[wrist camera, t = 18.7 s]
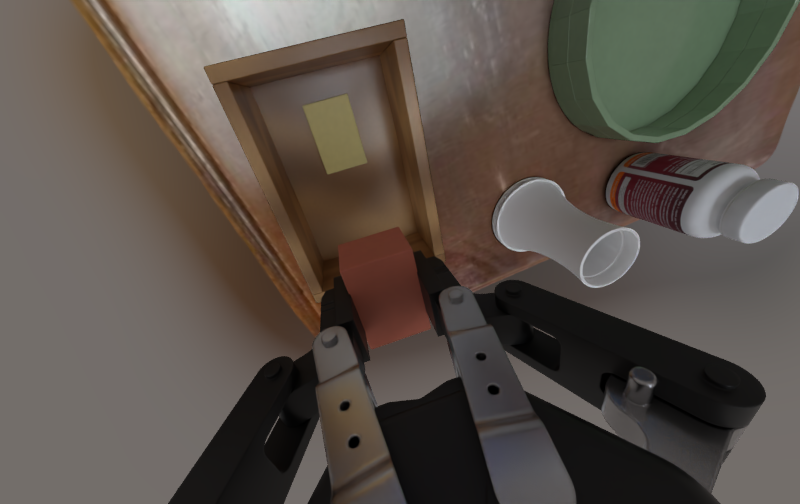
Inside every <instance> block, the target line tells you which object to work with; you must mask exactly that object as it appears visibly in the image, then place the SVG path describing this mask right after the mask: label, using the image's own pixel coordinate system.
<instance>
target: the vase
mask: <svg viewBox="0 0 800 504" xmlns="http://www.w3.org/2000/svg"><path fill="white" fill-rule="evenodd" d="M492 226H493V231H494V234H495V236H496V238H497V239H498V240H499V241H500V242H501V243H502V244H503V245H504V246H506V247H507V248H509V249H511V250H514V251H533V252H537V253H540V254H542V255H545V256H547V257H549V258H551V259H553V260H555V261H557V262H558V263H560V264H561V265H563V266H564V267H566V268H567V269H568V270H570V271H571V272H572V273H573V274H574V275H576V276H577V277H578V278H579V279H580V280H581V281H582V282H583V283H584V284H585V285H587V286H589V287H593V288H599V287H603V286H607V285H609V284H611V283H613V282H615V281H616V280H618V279H619V278H620V277H622V276H623V275H624V274H625V273H626V272H627V271H628V270H629V268H630V267H631V266H632V264H633V263H634V261H635V260H636V257H637V255H638V253H639V249H640V238H639V235H638V234H637V233H636V231H634V230H632V229H630V228H626V227H621V226H617V225H614V224H610V223H607V222H604V221H601V220H599V219H596V218H594V217H592V216H589V215H587V214H586V213H584V212H582V211H580V210H579V209H577V208H576V207H575V206H573V205H572V204H571V203H570V202H569V201H567V200H566V198H565V195H564V192H563V190H562V189H561V187H560V186H559V185H558V184H556V183H555V182H553V181H551V180H547V179H544V178H540V177H531V178H527V179H524V180H521V181H519V182H517V183H516V184H514V185H513V186H511V187H510V188H509V189H508V190H507V191H506V192H505V193H504V194H503V195H502V197H501V198H500V200H499V201H498V203H497V205H496V208H495V210H494V214H493V219H492Z"/></svg>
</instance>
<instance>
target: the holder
mask: <svg viewBox="0 0 800 504" xmlns="http://www.w3.org/2000/svg"><path fill="white" fill-rule="evenodd" d="M406 37H407V34H406V28H405V22H404V19H401V20H397V21H393V22H389V23H385V24H380V25H376V26H372V27H368V28H364V29H360V30H355V31H351V32H347V33H343V34H339V35H334V36H330V37H326V38H322V39H318V40H313V41H309V42H305V43H301V44H297V45H293V46H288V47H284V48H280V49H276V50H272V51H267V52H263V53H259V54H255V55H251V56H247V57H242V58H238V59H234V60H230V61H226V62H221V63H217V64H213V65H209V66H205V67H204V70H205V72H206V74H207V76H208V78H209V80H210V82H211V84H212V85H213V88H214V90H215V92H216V94H217V96H218V98H219V101H220V103H221V105H222V107H223V109H224V111H225V113H226V115H227V117H228V119H229V121H230V124H231V126H232V128H233V130H234V132H235V134H236V136H237V138H238V140H239V142H240V144H241V146H242V149H243V151H244V153H245V155H246V157H247V159H248V161H249V163H250V165H251V167H252V169H253V171H254V174H255V176H256V178H257V180H258V182H259V184H260V186H261V188H262V190H263V192H264V194H265V196H266V199H267V201H268V203H269V205H270V207H271V209H272V211H273V213H274V215H275V217H276V219H277V222H278V224H279V226H280V228H281V230H282V232H283V234H284V236H285V238H286V240H287V242H288V244H289V247H290V249H291V251H292V253H293V255H294V257H295V259H296V261H297V263H298V265H299V267H300V269H301V272H302V274H303V276H304V278H305V280H306V282H307V284H308V286H309V288H310V290H311V292H312V294H313V297H314V299H315V301H316V303H319V302H321V298H322V296H323V295H324V293H325V291H326V290H329V289H333V288H334V280H333V278H334V277H337V276H340V275H341V274H340V267H339V254H338V245H340V244H344V243H347V242H350V241H353V240H357V239H360V238H363V237H366V236H369V235H373V234H376V233H379V232H382V231H386V230H389V229H392V228H395V227H399V228H400V230H401V231H402V233H403V235H404V236H405V238H406V240H407V241H408V243H409V245H410V246H411V248H412V250H413V252H416V251H419V250H421V251H422V253H423V254H424V256H425V257H426V258H429V257H432V256H435V257H437V258H439V259H441V260H442V261H443V262H445V261H446V260H445V254H444V248H443V243H442V237H441V231H440V225H439V220H438V214H437V208H436V202H435V196H434V191H433V185H432V179H431V173H430V167H429V162H428V156H427V150H426V144H425V138H424V133H423V127H422V121H421V115H420V110H419V104H418V98H417V92H416V86H415V81H414V75H413V69H412V63H411V57H410V52H409V46H408V40H407V38H406ZM343 94H348V97H349V101H350V104H351V108H352V111H353V114H354V118H355V121H356V125H357V128H358V132H359V135H360V138H361V142H362V145H363V149H364V152H365V155H366V159H367V163H365V164H362V165H359V166H355V167H352V168H349V169H345V170H342V171H339V172H335V173H332V174H329V175H327V173H326V170H325V167H324V164H323V162H322V159H321V156H320V154H319V151H318V148H317V145H316V143H315V140H314V137H313V135H312V132H311V129H310V127H309V124H308V121H307V118H306V116H305V113H304V110H303V108H302V106H303V105H307V104H310V103H314V102H317V101H321V100H325V99H328V98H332V97H335V96H339V95H343Z"/></svg>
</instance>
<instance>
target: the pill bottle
mask: <svg viewBox="0 0 800 504" xmlns="http://www.w3.org/2000/svg"><path fill="white" fill-rule="evenodd" d="M798 197H799V190H798V187H797V185H795V184H794V183H791V182H785V181H779V180H775V179H760V178H759V175H758V174H757V172H755V170H754V169H752V168H750V167H749V166H746V165H741V164H734V163H727V162H719V161H711V160H703V159H696V158H688V157H680V156H673V155H665V154H657V153H647V152H644V153H637V154H634V155H632V156H630V157H628V158H627V159H625V160H624V161H623V162H622V163H621V164H620V165H619V166H618V167H617V168H616V169H615V171H614V172H613V173H612V175H611V177H610V179H609V181H608V184H607V188H606V200H607V202H608V204H609V205H610V207H611V208H613V209H614V210H616V211H619V212H622V213H625V214H628V215H631V216H633V217H636V218H639V219H642V220H645V221H648V222H651V223H654V224H657V225H660V226H663V227H666V228H669V229H672V230H675V231H678V232H681V233H684V234H687V235H690V236H693V237H697V238H710V237H715V236H718V235H721V234H722V235H723V236H725V237H727V238H729V239H733V240H736V241H739V242H743V243H748V244H750V243H755V242H759V241H761V240H762V239H764V238H766V237H768V236H769V235H771V234H772V233H773V232H774V231H776V230H777V229H778V228H779V227H780V226H781V225H782V224H783V223H784V222H785V221H786V219H787V218H788V217H789V215H790V214H791V212H792V211H793V209H794V207H795V205H796V203H797V200H798Z"/></svg>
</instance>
